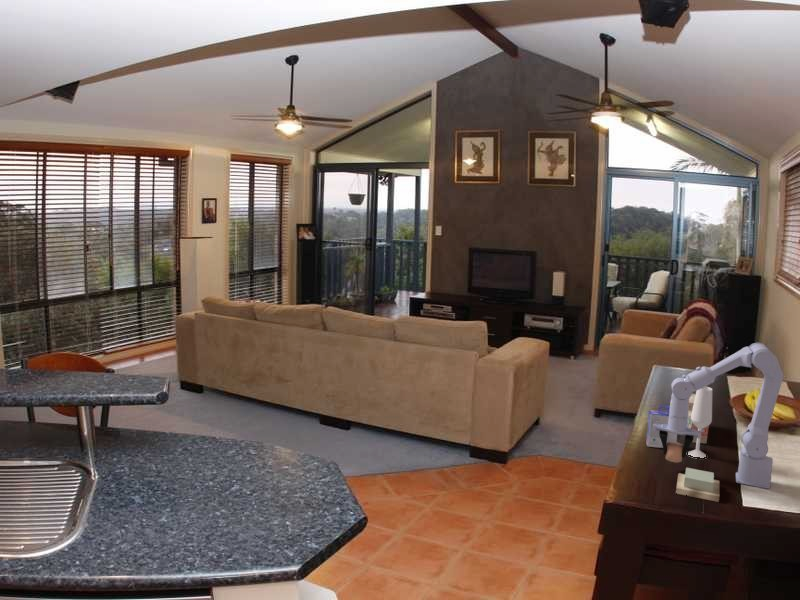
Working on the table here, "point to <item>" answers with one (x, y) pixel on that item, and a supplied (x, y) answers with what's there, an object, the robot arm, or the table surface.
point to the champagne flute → (701, 415)
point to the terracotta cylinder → (674, 452)
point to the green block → (699, 479)
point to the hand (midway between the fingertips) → (674, 455)
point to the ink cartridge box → (653, 436)
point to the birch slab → (695, 492)
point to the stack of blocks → (692, 426)
